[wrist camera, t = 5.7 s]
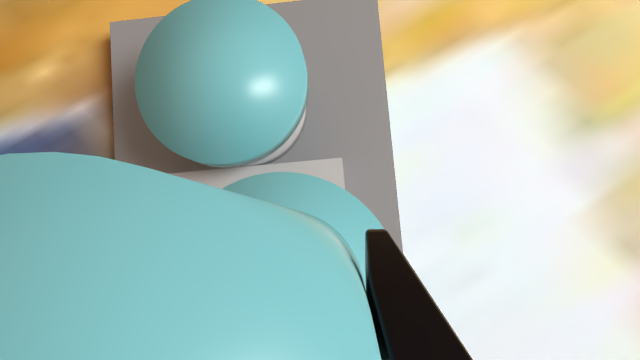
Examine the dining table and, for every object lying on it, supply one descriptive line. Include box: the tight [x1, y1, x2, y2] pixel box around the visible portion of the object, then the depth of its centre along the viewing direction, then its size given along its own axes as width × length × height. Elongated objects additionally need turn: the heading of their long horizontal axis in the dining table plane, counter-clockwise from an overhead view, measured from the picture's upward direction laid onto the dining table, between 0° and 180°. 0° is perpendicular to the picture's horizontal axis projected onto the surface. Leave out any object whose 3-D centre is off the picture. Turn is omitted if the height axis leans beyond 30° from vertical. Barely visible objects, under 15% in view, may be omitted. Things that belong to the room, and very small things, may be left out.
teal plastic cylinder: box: [0, 152, 384, 360], centre depth 9 cm, size 6×6×14 cm
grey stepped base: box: [110, 0, 403, 253], centre depth 19 cm, size 18×13×6 cm
